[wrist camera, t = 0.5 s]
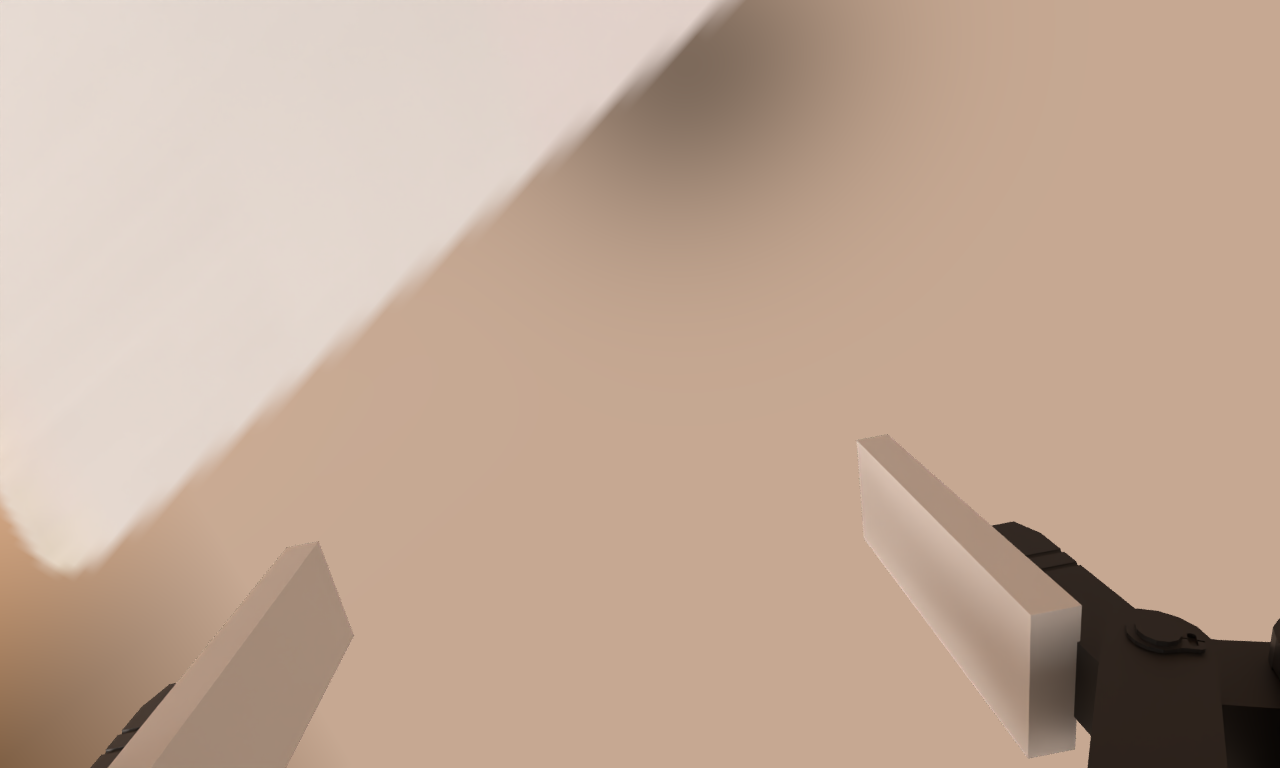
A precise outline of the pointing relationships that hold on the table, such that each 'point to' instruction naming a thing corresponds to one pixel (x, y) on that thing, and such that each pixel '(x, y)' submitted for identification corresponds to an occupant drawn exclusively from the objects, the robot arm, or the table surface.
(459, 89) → the table surface
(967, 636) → the robot arm
